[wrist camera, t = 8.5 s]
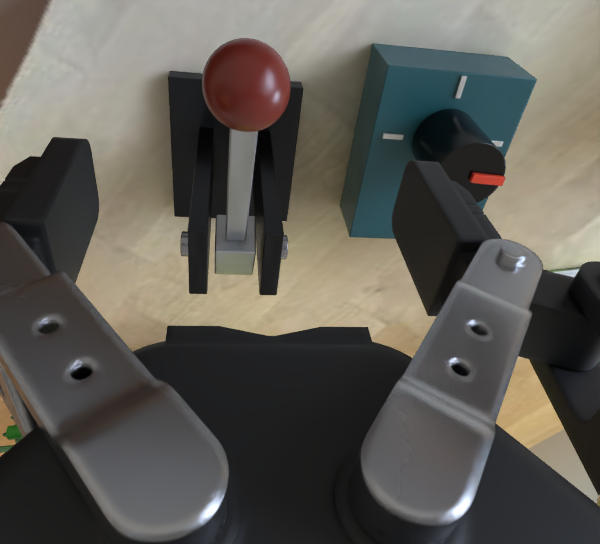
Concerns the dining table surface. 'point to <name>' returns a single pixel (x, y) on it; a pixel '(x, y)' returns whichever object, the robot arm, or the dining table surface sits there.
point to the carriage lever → (242, 135)
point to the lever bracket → (214, 178)
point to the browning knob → (460, 151)
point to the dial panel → (421, 120)
